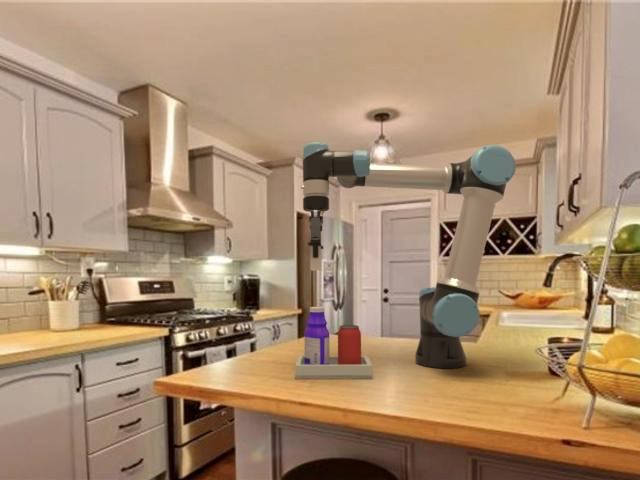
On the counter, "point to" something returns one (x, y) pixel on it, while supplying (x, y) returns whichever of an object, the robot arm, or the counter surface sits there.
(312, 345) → the bottle
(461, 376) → the counter surface
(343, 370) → the tray
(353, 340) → the beer can
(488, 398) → the counter surface
